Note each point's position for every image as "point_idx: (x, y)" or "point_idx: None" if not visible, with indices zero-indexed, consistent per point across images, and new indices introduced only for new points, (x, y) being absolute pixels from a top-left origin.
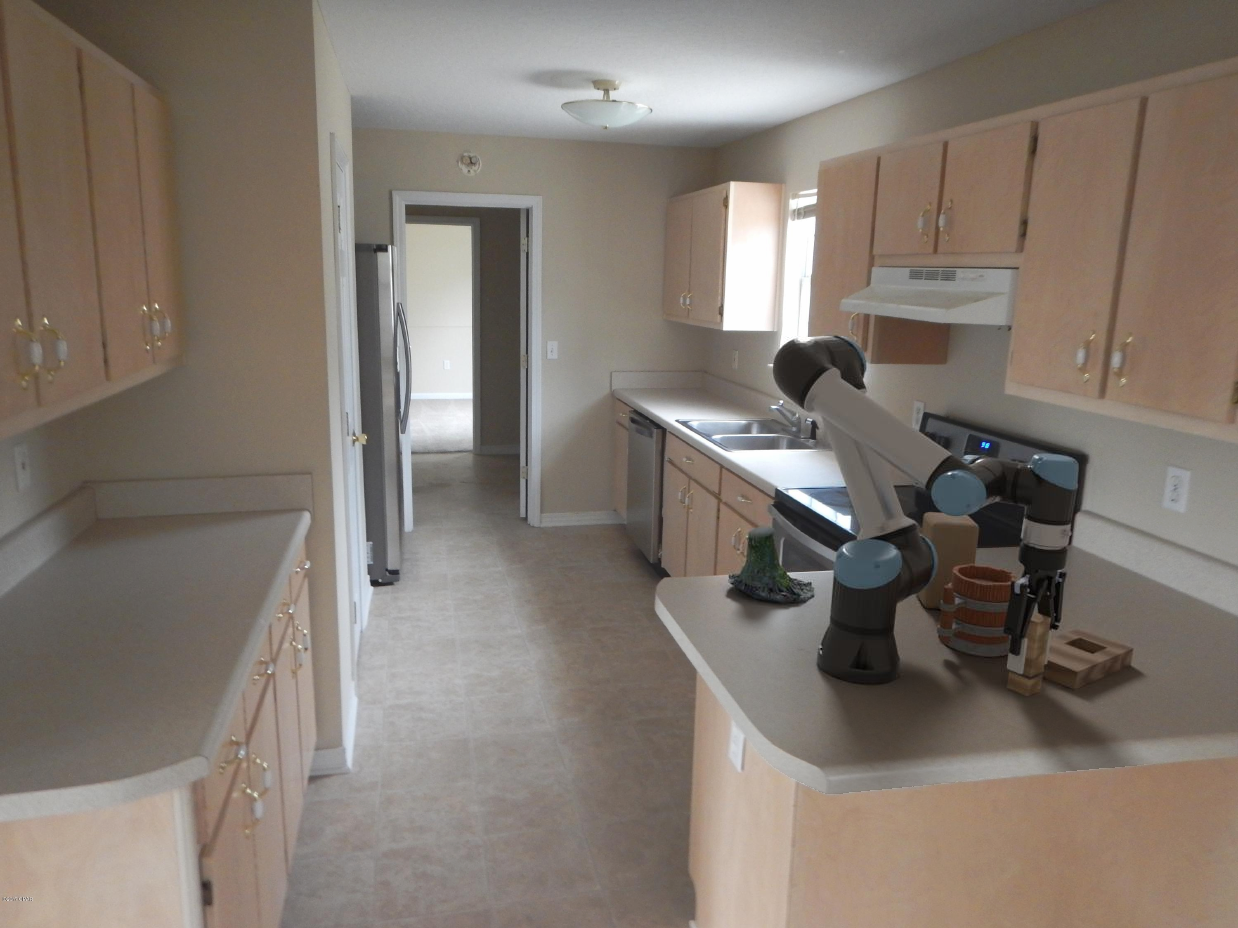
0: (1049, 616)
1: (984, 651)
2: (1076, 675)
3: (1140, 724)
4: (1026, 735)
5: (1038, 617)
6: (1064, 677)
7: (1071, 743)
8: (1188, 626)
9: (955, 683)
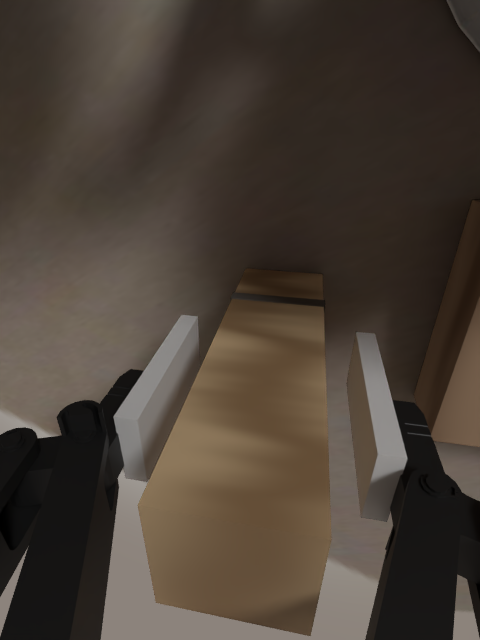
0: (372, 610)
1: (475, 20)
2: None
3: (334, 522)
4: None
5: (239, 594)
6: (429, 381)
7: None
8: None
9: (106, 142)
